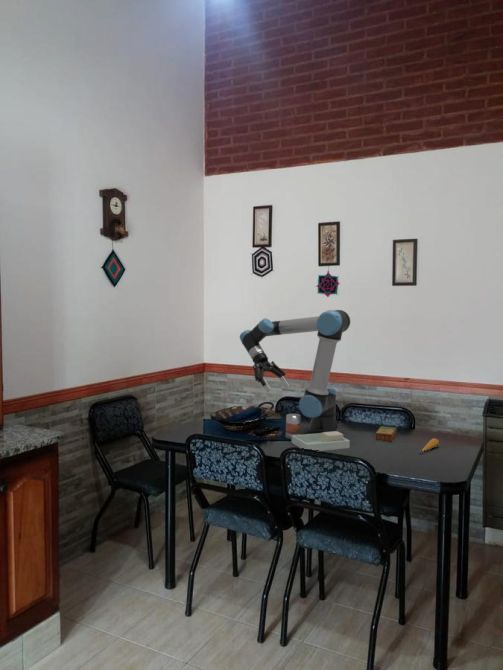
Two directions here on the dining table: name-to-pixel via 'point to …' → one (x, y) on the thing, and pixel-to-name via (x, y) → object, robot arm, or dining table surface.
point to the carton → (386, 433)
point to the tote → (318, 442)
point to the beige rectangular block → (332, 436)
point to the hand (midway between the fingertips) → (278, 389)
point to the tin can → (292, 425)
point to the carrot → (431, 444)
